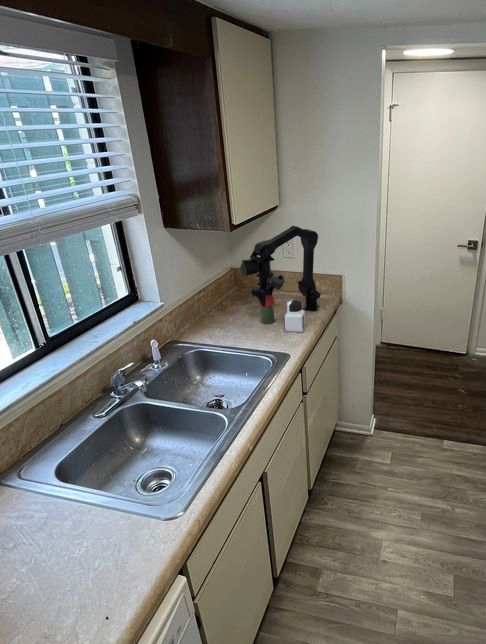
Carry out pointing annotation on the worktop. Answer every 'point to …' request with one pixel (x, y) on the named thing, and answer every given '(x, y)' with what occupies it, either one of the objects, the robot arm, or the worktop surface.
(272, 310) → the jam jar
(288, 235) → the robot arm
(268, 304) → the jar lid
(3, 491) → the worktop surface
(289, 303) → the container
